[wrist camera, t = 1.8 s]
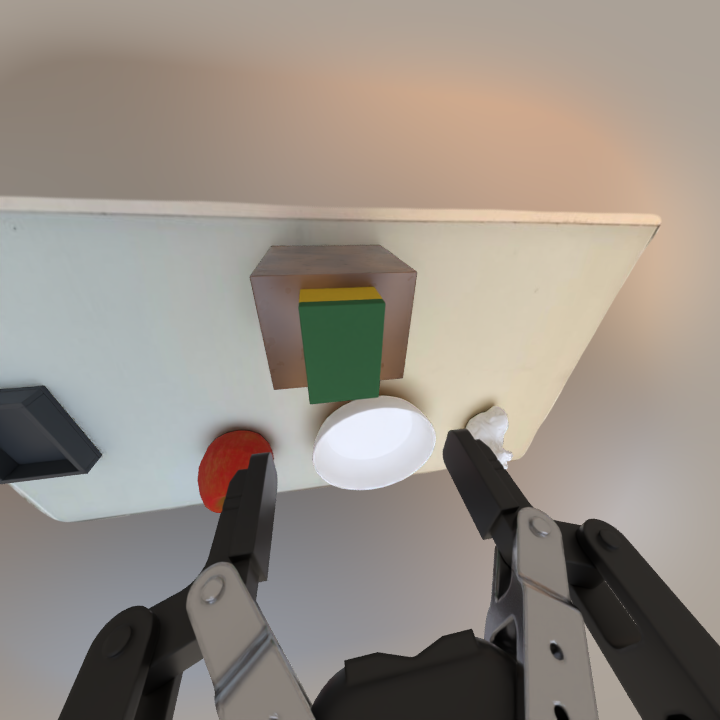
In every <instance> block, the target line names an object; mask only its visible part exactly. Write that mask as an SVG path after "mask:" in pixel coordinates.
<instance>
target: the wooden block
mask: <svg viewBox="0 0 720 720" xmlns="http://www.w3.org/2000/svg"><path fill="white" fill-rule="evenodd" d="M416 277H417V271H415V270H414V269H413V268H411V267H410V266H408V265H407V264H406V263H404V262H403V261H401V260H400V259H399V258H397V257H396V256H395V255H393V254H392V253H390V252H389V251H388V250H386V249H385V248H384V247H382V246H381V245H334V246H271V247H270V249H269V250H268V251H267V253H266V254H265V256H264V257H263V258H262V260H261V261H260V263H259V264H258V265H257V267H256V268H255V270H254V271H253V272H252V274H251V275H250V281H251V285H252V290H253V295H254V299H255V304H256V309H257V313H258V318H259V322H260V327H261V332H262V336H263V341H264V346H265V350H266V355H267V360H268V364H269V369H270V374H271V378H272V383H273V388H274V390H278V389H289V388H300V387H308V384H307V376H306V367H305V359H304V351H303V342H302V334H301V326H300V318H299V309H298V306H299V294H300V289H325V288H354V287H375V289H376V290H377V291H378V293H379V294H380V296H381V297H382V299H383V300H384V302H385V304H386V306H385V319H384V333H383V346H382V359H381V373H380V380H389V379H400V378H403V373H404V366H405V359H406V351H407V344H408V337H409V329H410V322H411V314H412V307H413V300H414V292H415V285H416Z"/></svg>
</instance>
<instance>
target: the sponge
mask: <svg viewBox="0 0 720 720" xmlns="http://www.w3.org/2000/svg"><path fill="white" fill-rule="evenodd" d="M385 306H386V304H385V302H384V300H383V299H382V297H381V296H380V294H379V293H378V291H377V290H376V289H375V287H354V288H325V289H300V294H299V306H298V309H299V318H300V326H301V334H302V342H303V351H304V359H305V367H306V376H307V384H308V392H309V401H310V404H319V403H329V402H339V401H349V400H359V399H369V398H378V397H379V386H380V373H381V359H382V346H383V333H384V319H385Z"/></svg>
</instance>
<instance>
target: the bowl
mask: <svg viewBox="0 0 720 720" xmlns="http://www.w3.org/2000/svg"><path fill="white" fill-rule="evenodd" d="M435 442H436V435H435V430H434V428H433V425H432V424H431V422H430V421H429V420H428V418H427V417H426V416H425V415H424V413H423V412H422V411H421V410H419V409H418V408H417V407H416V406H414V405H413V404H411V403H410V402H408V401H406V400H403V399H401V398H397V397H392V396H379V397H378V398H369V399H359V400H354V401H352V402H350V403H348V404H346V405H343V406H342V407H340V408H339V409H337V410H336V411H334V412H333V413H332V414H331V415H330V416H329V417H328V418H327V419H326V420H325V422H324V423H323V424H322V426H321V428H320V430H319V432H318V435H317V437H316V439H315V442H314V450H313V458H312V460H313V465H314V468H315V470H316V472H317V473H318V475H319V476H320V477H321V478H322V479H323V480H325V481H326V482H328V483H330V484H331V485H334V486H337V487H339V488H344V489H349V490H370V489H376V488H381V487H385V486H388V485H391V484H394V483H396V482H398V481H401V480H403V479H405V478H407V477H408V476H410V475H412V474H413V473H414V472H416V471H417V470H418V469H419V468H421V467H422V466H423V465H424V464H425V463H426V461H427V460H428V459H429V457H430V456H431V454H432V452H433V450H434V447H435Z"/></svg>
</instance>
